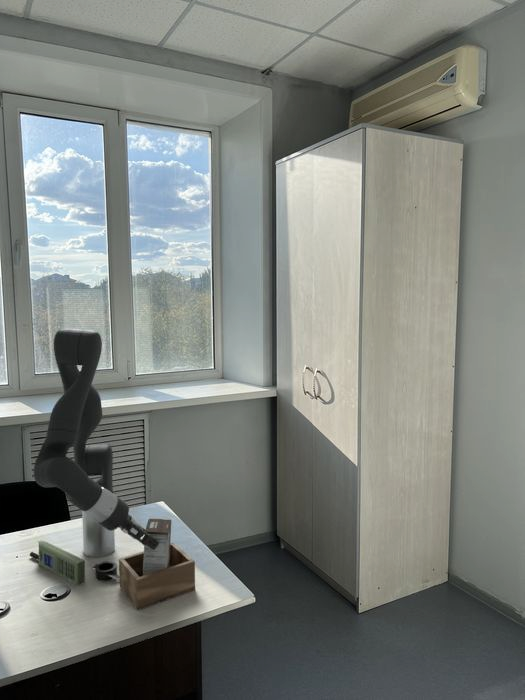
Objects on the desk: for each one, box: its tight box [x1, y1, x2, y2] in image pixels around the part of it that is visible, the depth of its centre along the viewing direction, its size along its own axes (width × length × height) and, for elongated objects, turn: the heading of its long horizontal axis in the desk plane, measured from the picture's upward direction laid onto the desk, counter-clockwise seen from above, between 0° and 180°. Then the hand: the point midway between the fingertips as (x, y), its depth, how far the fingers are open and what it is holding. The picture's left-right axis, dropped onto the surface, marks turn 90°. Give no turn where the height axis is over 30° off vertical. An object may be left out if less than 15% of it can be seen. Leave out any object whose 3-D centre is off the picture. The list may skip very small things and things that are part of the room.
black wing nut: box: [92, 560, 120, 582], centre depth 147 cm, size 8×10×3 cm
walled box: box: [118, 542, 196, 611], centre depth 140 cm, size 13×16×8 cm
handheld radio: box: [29, 540, 86, 586], centre depth 150 cm, size 7×3×25 cm
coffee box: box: [143, 518, 172, 576], centre depth 140 cm, size 9×6×16 cm
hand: (149, 539), depth 138 cm, fingers open, 8 cm apart
